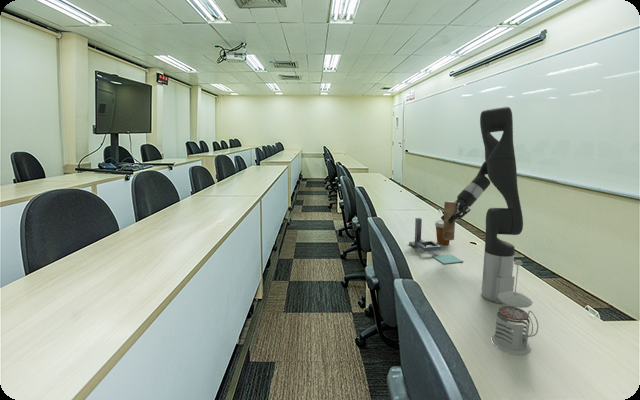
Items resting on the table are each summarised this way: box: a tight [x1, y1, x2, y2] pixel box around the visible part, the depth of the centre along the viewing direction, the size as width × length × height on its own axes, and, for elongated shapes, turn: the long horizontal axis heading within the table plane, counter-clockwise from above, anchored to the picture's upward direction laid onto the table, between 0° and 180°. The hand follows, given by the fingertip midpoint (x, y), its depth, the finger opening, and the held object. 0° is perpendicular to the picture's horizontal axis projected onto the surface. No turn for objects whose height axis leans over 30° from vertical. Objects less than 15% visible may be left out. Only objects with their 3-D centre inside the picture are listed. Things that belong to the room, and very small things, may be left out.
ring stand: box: [408, 217, 442, 253], centre depth 162 cm, size 18×9×16 cm, turn 10°
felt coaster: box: [431, 253, 464, 265], centre depth 149 cm, size 10×10×1 cm
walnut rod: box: [443, 200, 456, 241], centre depth 146 cm, size 5×5×18 cm
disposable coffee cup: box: [434, 219, 451, 246], centre depth 173 cm, size 10×10×12 cm
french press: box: [491, 259, 539, 356], centre depth 84 cm, size 10×12×25 cm
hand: (445, 220), depth 145 cm, fingers closed on walnut rod, 5 cm apart
